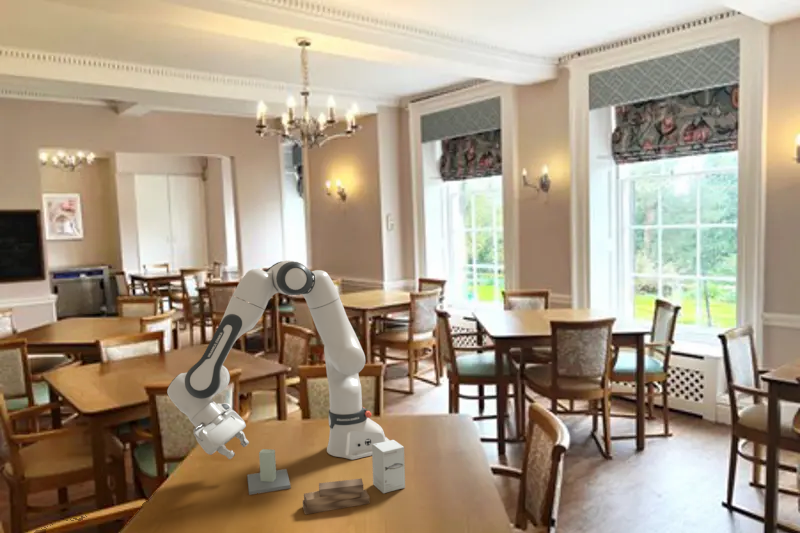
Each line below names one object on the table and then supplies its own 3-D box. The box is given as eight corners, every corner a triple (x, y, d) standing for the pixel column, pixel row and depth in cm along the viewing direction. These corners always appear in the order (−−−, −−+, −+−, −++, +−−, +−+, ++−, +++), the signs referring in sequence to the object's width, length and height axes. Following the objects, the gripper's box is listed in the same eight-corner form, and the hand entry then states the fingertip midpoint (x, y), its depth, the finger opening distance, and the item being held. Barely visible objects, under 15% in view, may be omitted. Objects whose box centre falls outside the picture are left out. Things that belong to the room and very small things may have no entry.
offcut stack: (365, 495, 168) (364, 475, 168) (370, 504, 163) (369, 483, 162) (302, 506, 163) (301, 485, 162) (305, 515, 157) (304, 494, 157)
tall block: (264, 477, 180) (262, 449, 179) (276, 478, 179) (274, 449, 178) (260, 481, 177) (259, 452, 176) (273, 481, 176) (271, 452, 176)
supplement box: (383, 494, 168) (382, 451, 167) (372, 484, 175) (371, 443, 174) (406, 488, 172) (404, 446, 171) (394, 478, 178) (393, 438, 177)
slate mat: (286, 471, 186) (286, 468, 185) (290, 488, 174) (290, 485, 174) (247, 477, 182) (247, 474, 182) (249, 494, 171) (248, 491, 171)
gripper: (197, 423, 169) (230, 457, 168) (230, 401, 189) (260, 432, 188) (184, 437, 170) (216, 471, 169) (218, 414, 190) (248, 445, 189)
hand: (239, 450), depth 179 cm, fingers open, 8 cm apart
